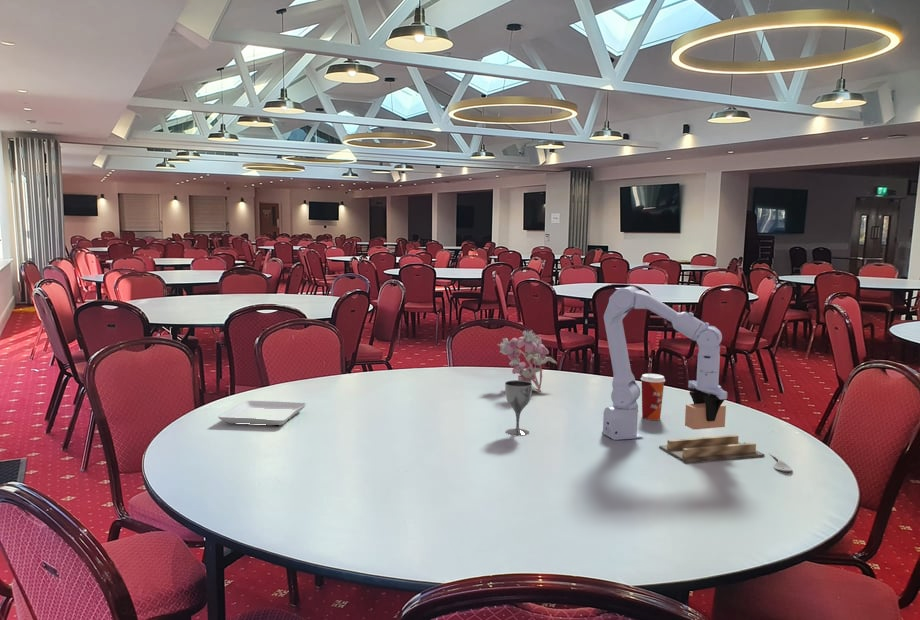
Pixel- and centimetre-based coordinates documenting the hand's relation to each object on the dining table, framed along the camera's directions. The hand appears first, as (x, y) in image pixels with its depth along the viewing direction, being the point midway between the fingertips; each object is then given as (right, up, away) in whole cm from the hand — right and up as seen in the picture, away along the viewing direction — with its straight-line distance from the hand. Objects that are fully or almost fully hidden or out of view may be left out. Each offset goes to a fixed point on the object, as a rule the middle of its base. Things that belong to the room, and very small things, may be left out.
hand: (705, 418), depth 181 cm
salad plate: (-131, -5, +26) cm, 134 cm away
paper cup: (-6, -5, +31) cm, 32 cm away
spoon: (+16, -10, -8) cm, 21 cm away
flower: (-43, 0, +72) cm, 84 cm away
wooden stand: (+1, -9, -2) cm, 9 cm away
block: (0, -2, 0) cm, 2 cm away
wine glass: (-51, -7, +14) cm, 54 cm away
